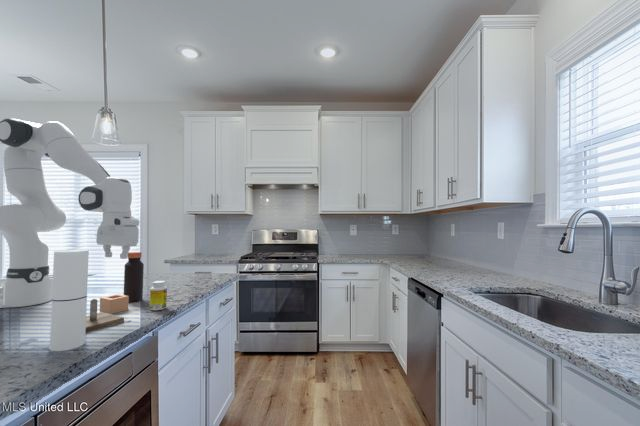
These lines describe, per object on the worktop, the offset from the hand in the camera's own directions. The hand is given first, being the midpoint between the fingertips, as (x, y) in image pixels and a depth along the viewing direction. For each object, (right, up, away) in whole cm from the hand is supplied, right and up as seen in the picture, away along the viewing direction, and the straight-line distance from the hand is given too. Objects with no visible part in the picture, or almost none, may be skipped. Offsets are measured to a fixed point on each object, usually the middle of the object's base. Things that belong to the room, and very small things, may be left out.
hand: (116, 257), depth 111 cm
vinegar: (-2, -20, +14) cm, 24 cm away
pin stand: (+4, -19, -16) cm, 25 cm away
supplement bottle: (+14, -20, +2) cm, 25 cm away
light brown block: (0, -19, -1) cm, 19 cm away
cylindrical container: (+9, -19, -32) cm, 38 cm away
